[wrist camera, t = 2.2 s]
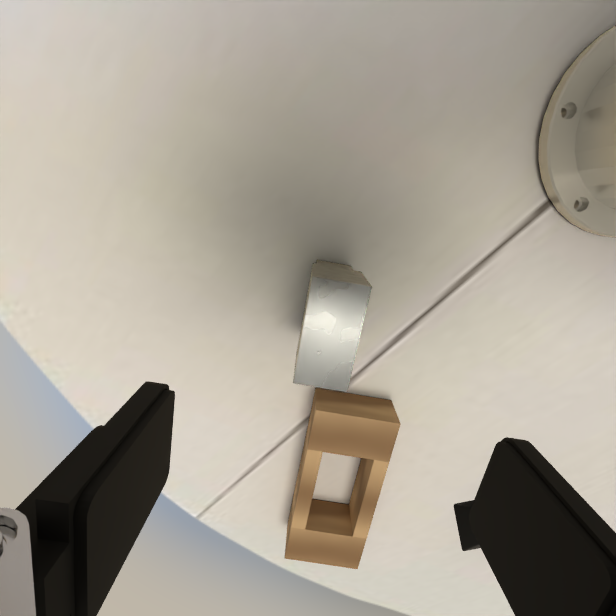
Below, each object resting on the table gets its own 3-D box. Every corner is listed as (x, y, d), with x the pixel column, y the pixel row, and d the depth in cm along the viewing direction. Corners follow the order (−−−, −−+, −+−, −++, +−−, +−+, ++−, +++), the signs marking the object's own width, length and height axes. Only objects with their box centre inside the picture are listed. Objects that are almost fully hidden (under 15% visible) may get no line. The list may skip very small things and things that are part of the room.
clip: (313, 256, 24) (312, 276, 17) (355, 263, 24) (372, 286, 17) (298, 336, 25) (293, 383, 19) (338, 342, 25) (346, 392, 19)
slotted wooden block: (315, 387, 27) (315, 409, 24) (391, 400, 27) (400, 423, 24) (287, 525, 31) (284, 558, 28) (353, 535, 31) (357, 569, 28)
